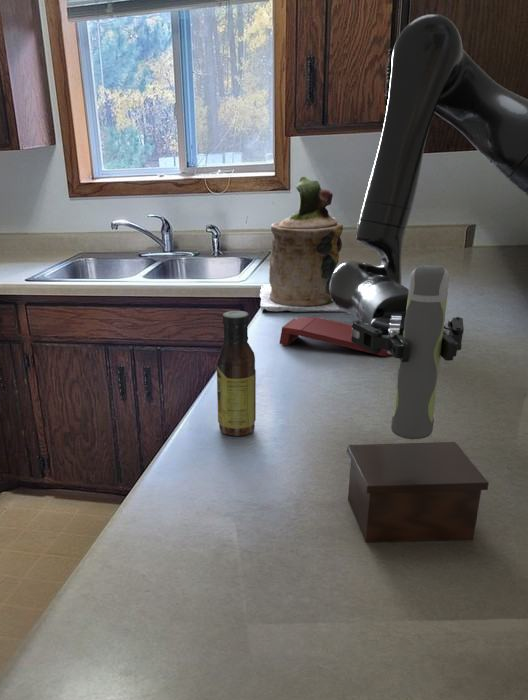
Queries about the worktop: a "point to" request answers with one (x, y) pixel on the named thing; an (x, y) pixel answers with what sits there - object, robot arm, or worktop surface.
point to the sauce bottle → (236, 377)
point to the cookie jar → (304, 255)
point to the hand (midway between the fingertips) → (428, 352)
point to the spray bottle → (421, 352)
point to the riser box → (414, 491)
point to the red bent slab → (321, 332)
